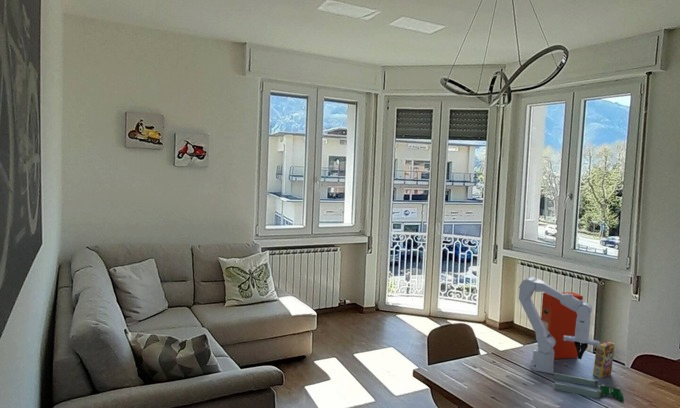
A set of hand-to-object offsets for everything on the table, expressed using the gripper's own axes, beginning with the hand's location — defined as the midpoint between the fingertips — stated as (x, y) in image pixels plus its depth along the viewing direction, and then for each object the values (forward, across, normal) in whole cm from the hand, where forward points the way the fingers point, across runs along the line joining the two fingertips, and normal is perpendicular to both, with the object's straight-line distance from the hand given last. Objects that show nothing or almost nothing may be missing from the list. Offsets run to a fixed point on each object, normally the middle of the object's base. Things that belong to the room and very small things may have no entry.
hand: (579, 358), depth 221 cm
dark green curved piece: (+10, +12, -13) cm, 20 cm away
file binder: (+10, -8, +25) cm, 28 cm away
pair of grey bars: (+9, -2, -11) cm, 15 cm away
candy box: (+10, +11, +10) cm, 18 cm away
